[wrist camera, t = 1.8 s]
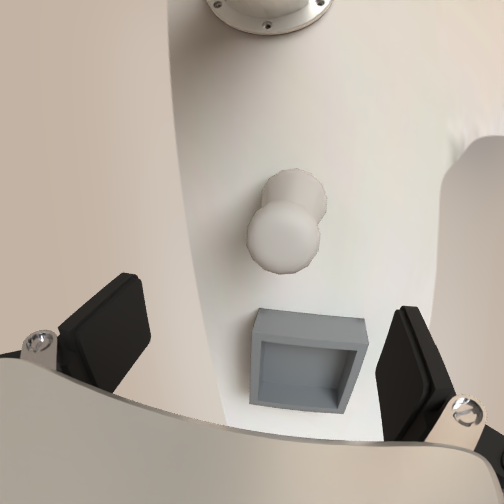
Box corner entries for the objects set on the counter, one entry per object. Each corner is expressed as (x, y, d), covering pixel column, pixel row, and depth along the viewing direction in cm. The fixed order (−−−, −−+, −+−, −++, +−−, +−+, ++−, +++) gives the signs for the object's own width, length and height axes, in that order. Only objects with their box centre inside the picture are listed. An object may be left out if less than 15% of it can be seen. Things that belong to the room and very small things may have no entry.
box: (259, 308, 34) (251, 332, 30) (364, 318, 32) (368, 343, 28) (256, 379, 39) (249, 403, 34) (342, 388, 36) (343, 413, 32)
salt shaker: (322, 162, 26) (329, 187, 15) (329, 221, 28) (338, 287, 17) (260, 170, 28) (220, 201, 16) (270, 227, 30) (240, 294, 18)
